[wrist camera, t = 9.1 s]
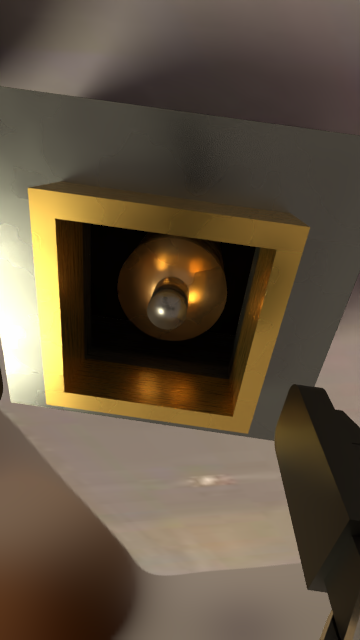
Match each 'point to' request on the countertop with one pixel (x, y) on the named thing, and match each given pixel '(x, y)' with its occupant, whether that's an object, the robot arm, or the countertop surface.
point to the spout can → (173, 286)
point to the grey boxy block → (181, 220)
